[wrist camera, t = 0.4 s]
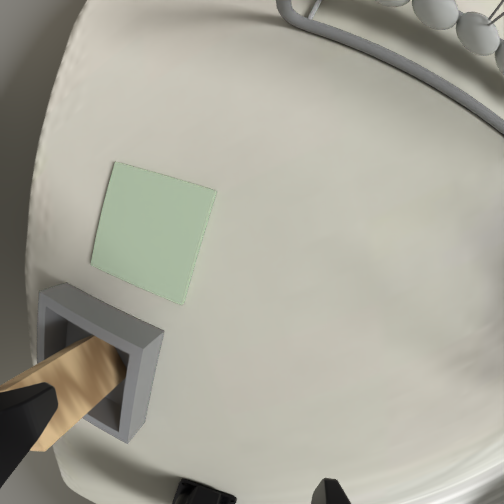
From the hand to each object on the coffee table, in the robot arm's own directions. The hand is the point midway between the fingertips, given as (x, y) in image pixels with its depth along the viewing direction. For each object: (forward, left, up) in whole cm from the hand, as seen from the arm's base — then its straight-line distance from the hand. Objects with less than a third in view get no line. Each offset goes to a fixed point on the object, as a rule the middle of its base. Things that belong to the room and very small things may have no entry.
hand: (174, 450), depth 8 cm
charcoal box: (-10, +12, -16) cm, 22 cm away
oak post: (-10, +12, -15) cm, 22 cm away
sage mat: (+3, +10, -16) cm, 19 cm away
